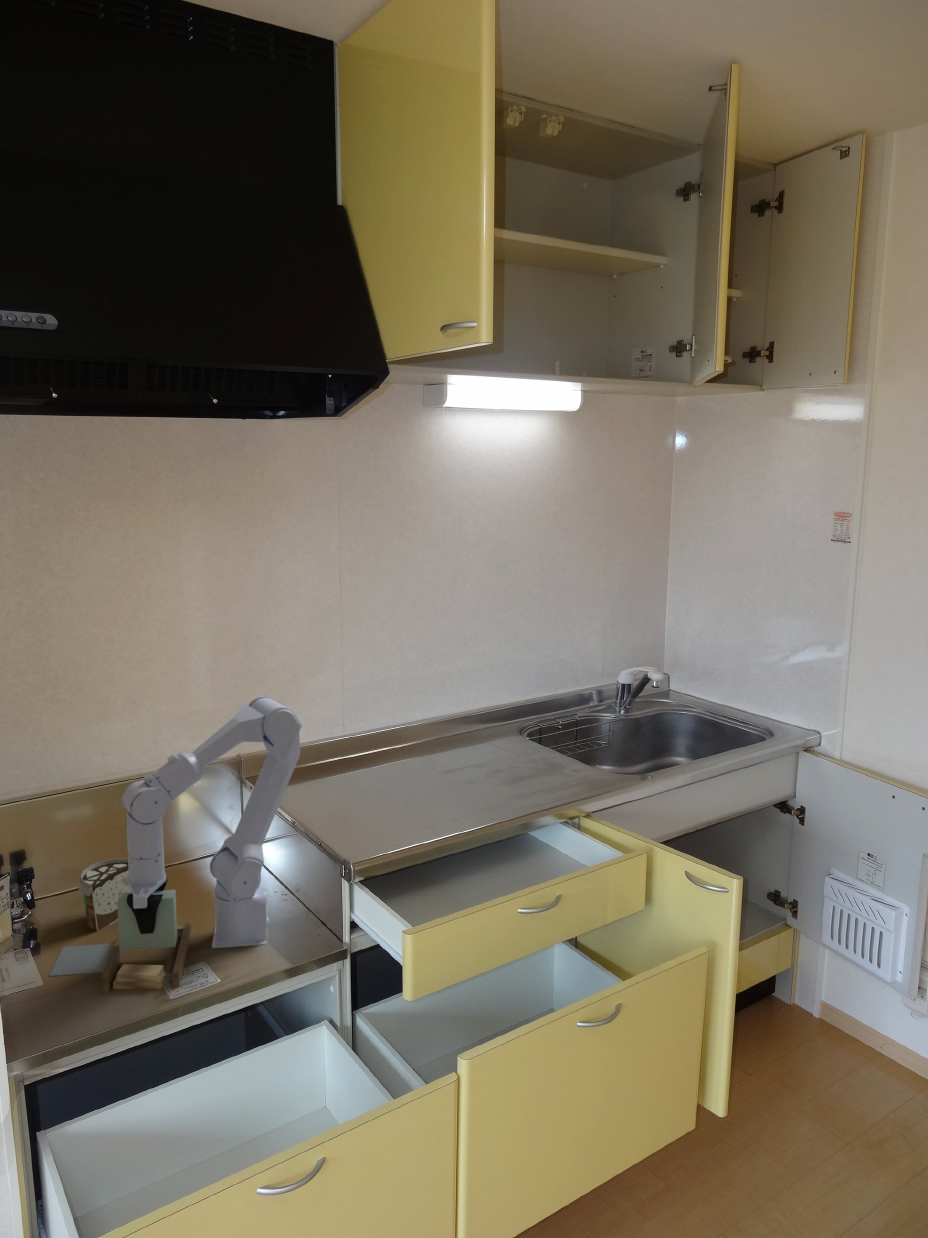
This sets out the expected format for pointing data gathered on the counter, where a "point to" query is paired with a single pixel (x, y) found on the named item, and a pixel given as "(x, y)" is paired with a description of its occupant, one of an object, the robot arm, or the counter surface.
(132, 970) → the offcut top
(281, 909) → the counter surface
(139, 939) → the sage panel
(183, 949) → the walnut rack
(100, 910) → the food container
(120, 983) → the offcut middle
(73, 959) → the slate mat
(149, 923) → the robot arm
